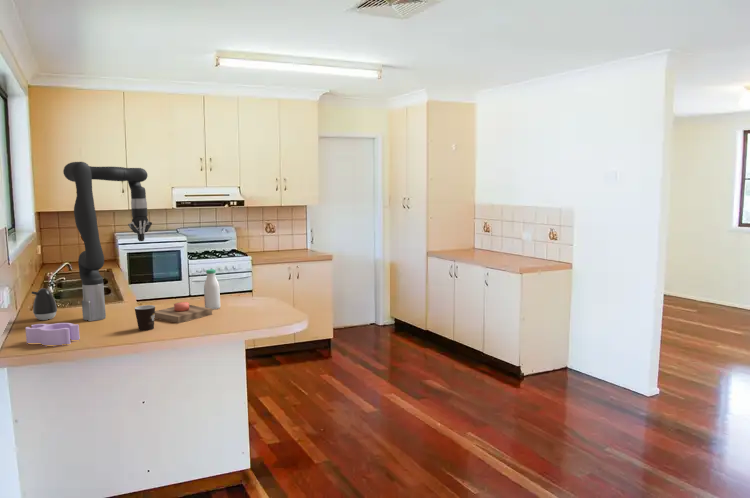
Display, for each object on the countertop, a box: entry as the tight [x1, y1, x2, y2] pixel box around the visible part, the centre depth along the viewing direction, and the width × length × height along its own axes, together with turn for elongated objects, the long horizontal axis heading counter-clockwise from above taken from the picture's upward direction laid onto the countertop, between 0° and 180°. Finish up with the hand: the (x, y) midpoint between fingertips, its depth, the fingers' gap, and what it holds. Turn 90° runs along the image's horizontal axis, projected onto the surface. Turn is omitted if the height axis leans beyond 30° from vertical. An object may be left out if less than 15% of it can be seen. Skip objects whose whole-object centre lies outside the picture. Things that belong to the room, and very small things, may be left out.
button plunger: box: [173, 301, 190, 311], centre depth 297 cm, size 7×7×3 cm
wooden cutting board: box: [154, 304, 213, 324], centre depth 297 cm, size 20×20×3 cm
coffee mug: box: [134, 304, 156, 332], centre depth 274 cm, size 12×9×10 cm
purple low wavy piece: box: [25, 322, 80, 346], centre depth 254 cm, size 20×12×7 cm, turn 84°
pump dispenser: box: [31, 287, 58, 321], centre depth 295 cm, size 10×10×15 cm
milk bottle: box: [203, 268, 221, 310], centre depth 313 cm, size 8×8×20 cm
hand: (141, 241), depth 314 cm, fingers closed
